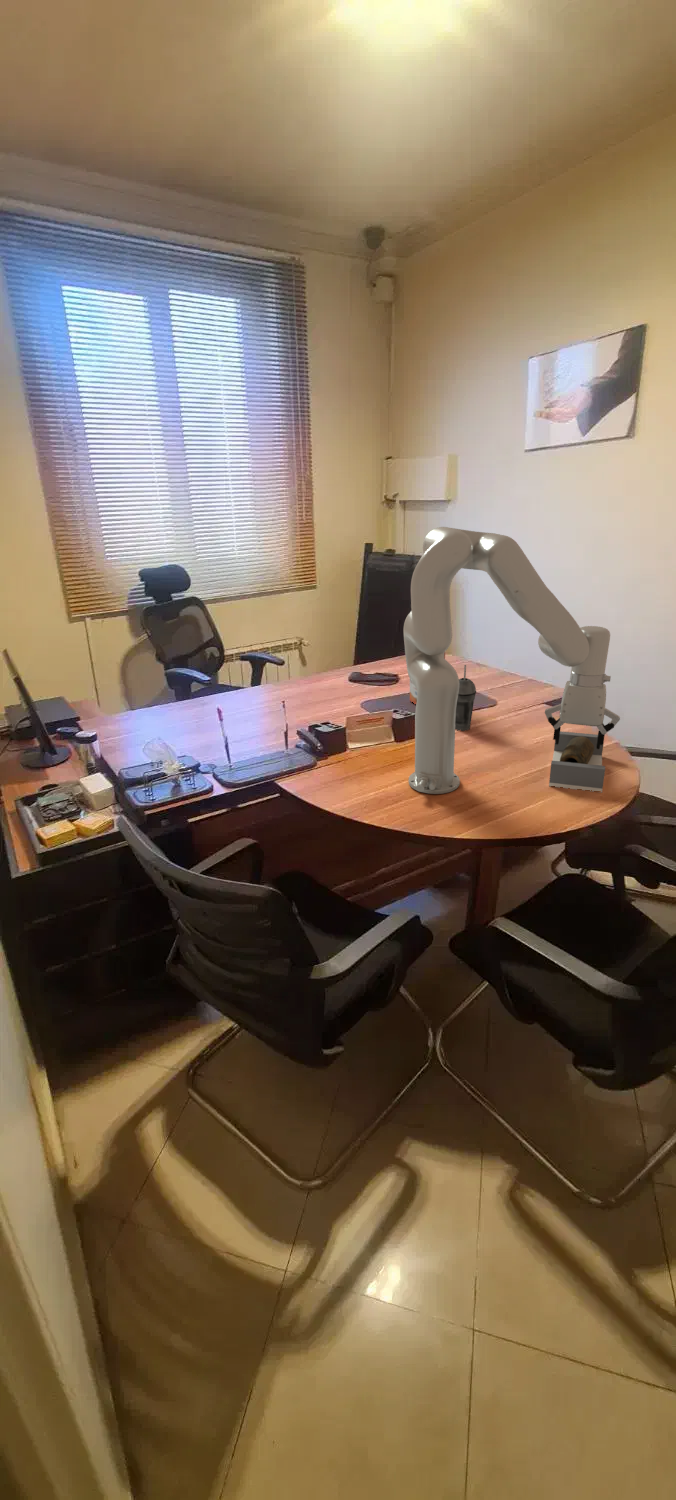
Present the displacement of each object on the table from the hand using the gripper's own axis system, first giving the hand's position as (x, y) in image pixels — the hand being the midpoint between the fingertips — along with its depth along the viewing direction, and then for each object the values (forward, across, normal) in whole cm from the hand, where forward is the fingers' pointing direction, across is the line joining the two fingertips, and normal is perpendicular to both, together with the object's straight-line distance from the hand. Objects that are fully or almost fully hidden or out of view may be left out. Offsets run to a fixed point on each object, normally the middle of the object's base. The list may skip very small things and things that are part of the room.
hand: (577, 744), depth 157 cm
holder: (+7, -1, 0) cm, 7 cm away
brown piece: (+6, 0, -1) cm, 6 cm away
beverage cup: (+8, +32, -22) cm, 40 cm away
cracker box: (+8, +47, -38) cm, 61 cm away
